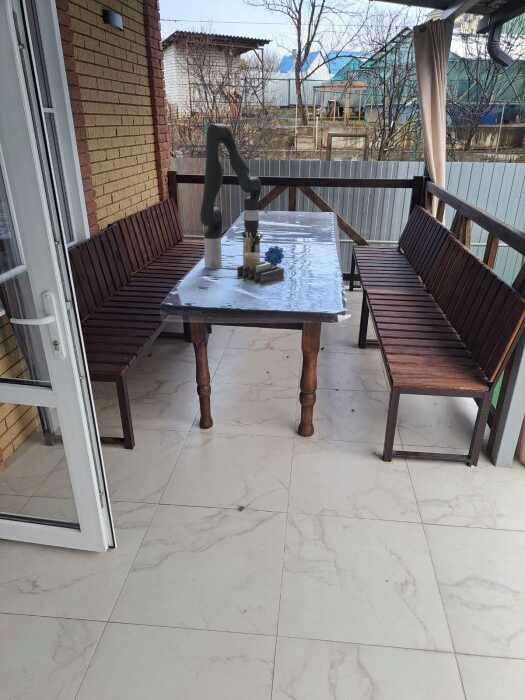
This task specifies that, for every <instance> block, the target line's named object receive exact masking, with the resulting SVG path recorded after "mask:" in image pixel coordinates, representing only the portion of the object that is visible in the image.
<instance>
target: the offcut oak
mask: <svg viewBox="0 0 525 700" xmlns="http://www.w3.org/2000/svg"><path fill="white" fill-rule="evenodd" d="M265 263H266V262H265V260H260V262H256V263H252V264H250V270H252V269H256V266H257V265H261V264H265Z"/></svg>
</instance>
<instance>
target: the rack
mask: <svg viewBox="0 0 525 700" xmlns="http://www.w3.org/2000/svg"><path fill="white" fill-rule="evenodd" d="M236 268H237V269H236V273H237V274H236V275H234V277H236V278H240V279H242V280H245V281H249V282H252V283H254V284H258V285H260V286H265V285H268V284H271V283H275V282H278V281H282V280H285V279H287V277H286V276H285V268H284V267H281V268H279V266H278V265H277V266H273V265H271V268H268V269H264V270H261V271H257V272H256V269H252V270H250V267H247V268H243V264H242V265H240V266H237V267H236Z"/></svg>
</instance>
